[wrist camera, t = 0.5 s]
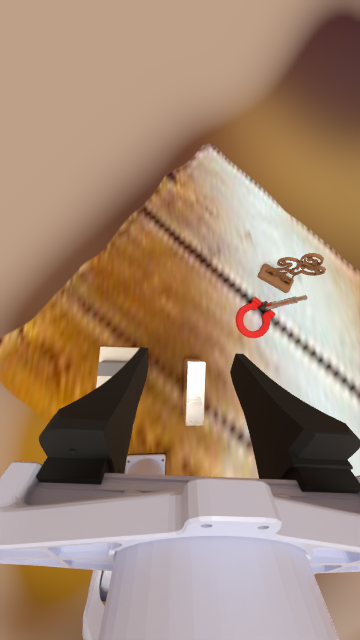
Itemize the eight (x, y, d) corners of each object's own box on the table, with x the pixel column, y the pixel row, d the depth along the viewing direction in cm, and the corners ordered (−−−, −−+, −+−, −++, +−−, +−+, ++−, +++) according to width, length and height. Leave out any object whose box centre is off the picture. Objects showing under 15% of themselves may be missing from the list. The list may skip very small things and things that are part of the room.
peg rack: (134, 423, 34) (130, 435, 30) (94, 424, 33) (85, 436, 29) (139, 347, 36) (137, 349, 32) (102, 346, 35) (94, 347, 31)
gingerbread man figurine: (257, 276, 41) (296, 253, 29) (262, 264, 42) (303, 235, 30) (286, 293, 42) (336, 276, 30) (291, 280, 42) (342, 259, 30)
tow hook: (254, 344, 40) (275, 316, 41) (296, 351, 27) (326, 309, 28) (228, 323, 39) (250, 294, 40) (258, 319, 27) (289, 278, 28)
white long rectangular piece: (197, 412, 36) (203, 425, 31) (182, 413, 36) (185, 425, 31) (199, 358, 37) (205, 362, 32) (184, 358, 37) (188, 361, 32)
